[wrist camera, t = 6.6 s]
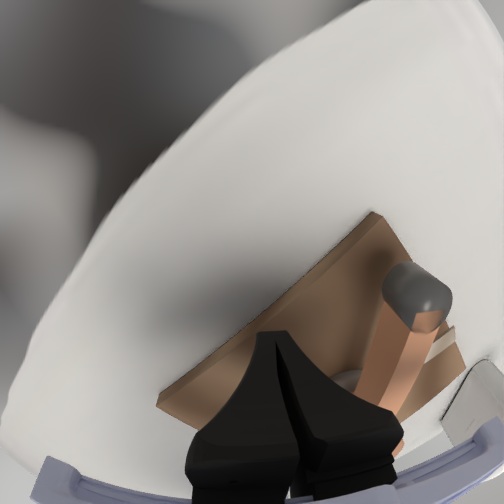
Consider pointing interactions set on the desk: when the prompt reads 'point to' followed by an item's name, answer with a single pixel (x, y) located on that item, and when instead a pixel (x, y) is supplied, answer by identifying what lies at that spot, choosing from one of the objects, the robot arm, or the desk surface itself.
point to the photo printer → (476, 405)
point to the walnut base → (322, 330)
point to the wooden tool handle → (403, 335)
